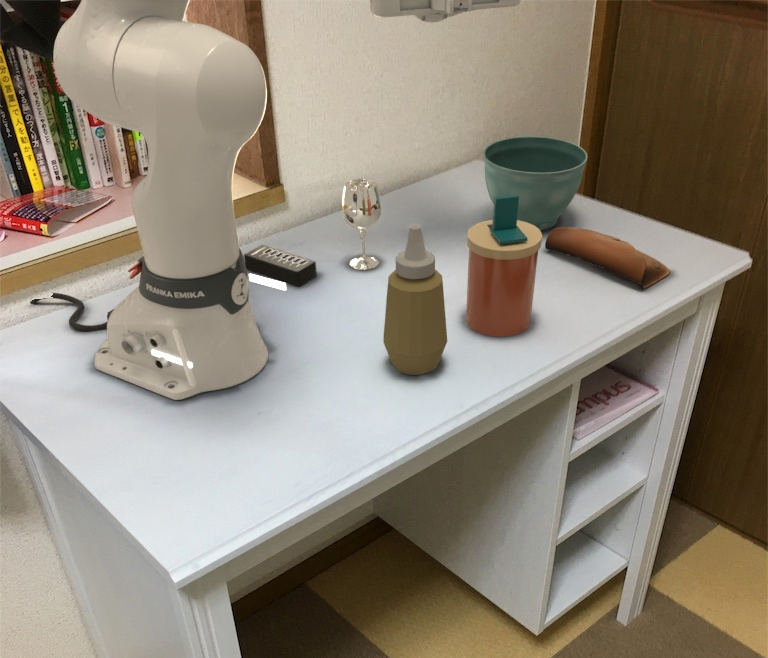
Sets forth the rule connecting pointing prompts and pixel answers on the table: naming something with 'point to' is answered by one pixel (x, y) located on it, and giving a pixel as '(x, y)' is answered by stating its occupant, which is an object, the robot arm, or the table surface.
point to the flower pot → (535, 175)
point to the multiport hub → (280, 265)
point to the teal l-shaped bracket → (506, 220)
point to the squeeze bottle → (415, 310)
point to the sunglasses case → (607, 254)
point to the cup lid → (490, 248)
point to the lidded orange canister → (500, 294)
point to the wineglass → (362, 214)
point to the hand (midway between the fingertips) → (461, 4)
